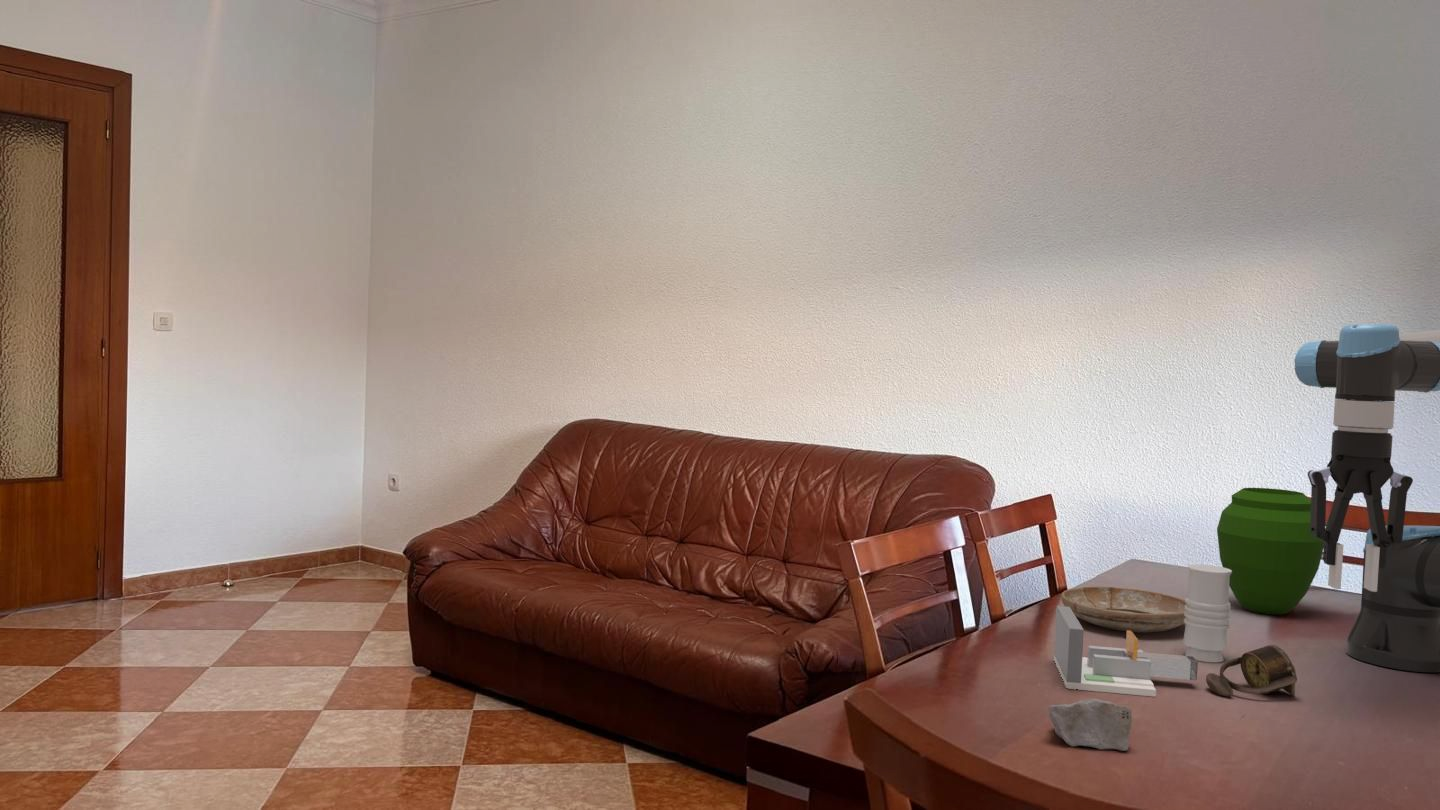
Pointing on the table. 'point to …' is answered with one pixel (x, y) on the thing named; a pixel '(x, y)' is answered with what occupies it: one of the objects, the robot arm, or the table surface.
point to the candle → (1207, 612)
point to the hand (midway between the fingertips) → (1352, 588)
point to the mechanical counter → (1257, 673)
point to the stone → (1093, 724)
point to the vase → (1269, 548)
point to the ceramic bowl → (1125, 608)
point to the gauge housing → (1097, 662)
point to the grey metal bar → (1163, 661)
